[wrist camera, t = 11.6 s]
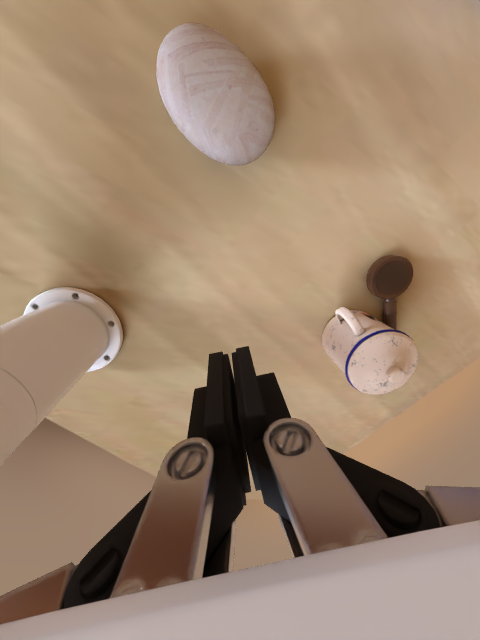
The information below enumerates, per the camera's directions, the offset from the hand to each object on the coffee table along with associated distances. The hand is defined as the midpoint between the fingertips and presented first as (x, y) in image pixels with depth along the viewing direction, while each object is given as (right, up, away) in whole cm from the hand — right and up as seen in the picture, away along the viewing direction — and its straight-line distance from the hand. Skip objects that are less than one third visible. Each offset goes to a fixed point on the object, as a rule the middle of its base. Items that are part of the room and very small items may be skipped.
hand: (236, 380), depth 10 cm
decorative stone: (-2, +26, +17) cm, 31 cm away
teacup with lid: (+16, +1, +28) cm, 32 cm away
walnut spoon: (+23, +3, +27) cm, 36 cm away
